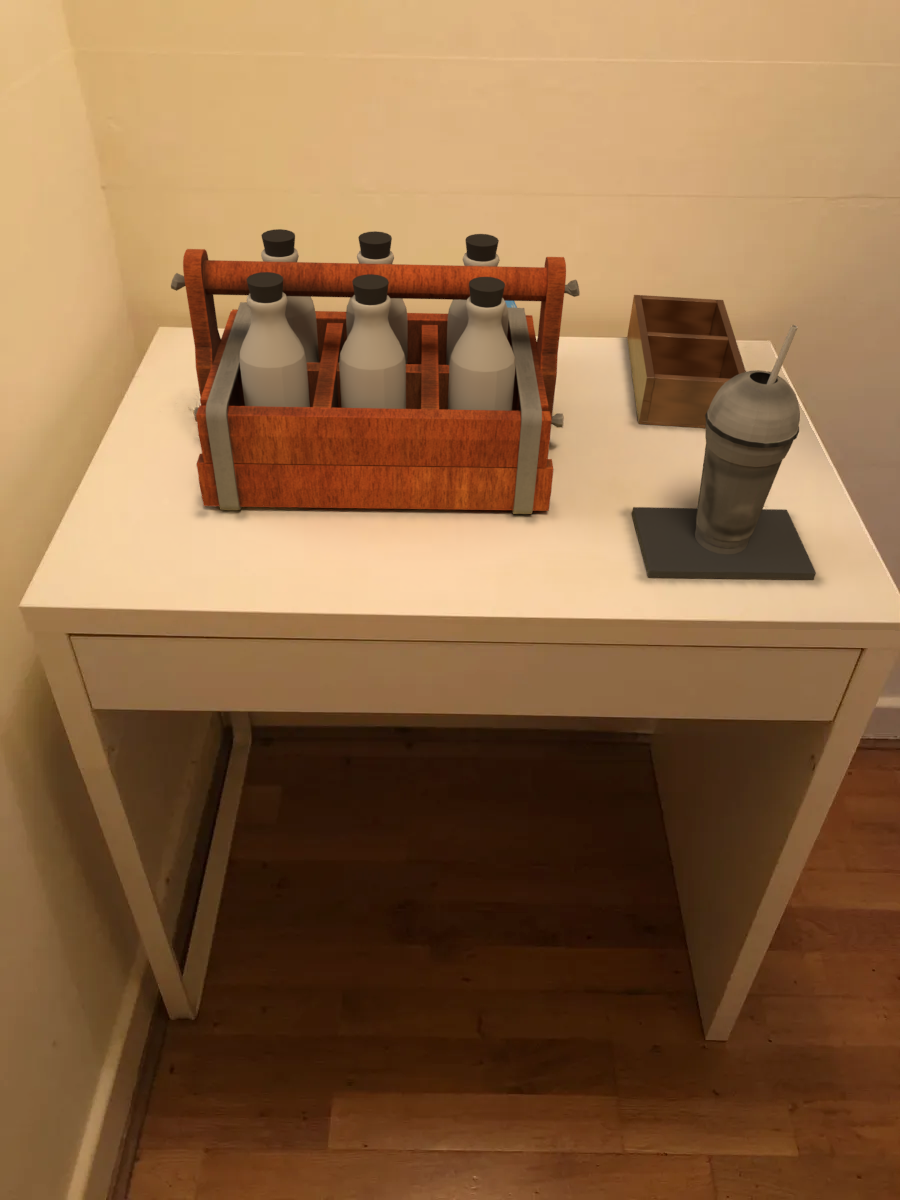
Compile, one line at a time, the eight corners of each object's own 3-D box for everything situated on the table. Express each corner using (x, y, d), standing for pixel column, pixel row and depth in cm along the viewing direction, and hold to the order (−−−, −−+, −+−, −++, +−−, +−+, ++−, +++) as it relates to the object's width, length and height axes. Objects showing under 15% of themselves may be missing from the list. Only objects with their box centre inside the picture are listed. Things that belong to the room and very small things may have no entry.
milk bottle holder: (216, 394, 102) (189, 206, 90) (550, 400, 103) (570, 215, 91) (177, 514, 86) (138, 306, 74) (572, 519, 88) (601, 315, 75)
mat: (784, 516, 89) (787, 509, 88) (813, 580, 82) (816, 572, 82) (631, 513, 88) (632, 506, 88) (648, 578, 82) (649, 570, 81)
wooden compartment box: (713, 342, 114) (723, 299, 111) (737, 430, 100) (749, 383, 96) (626, 337, 115) (633, 294, 111) (638, 423, 100) (646, 377, 97)
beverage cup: (699, 503, 89) (750, 291, 75) (776, 533, 86) (844, 317, 72) (664, 543, 84) (712, 324, 71) (744, 576, 81) (809, 354, 68)
